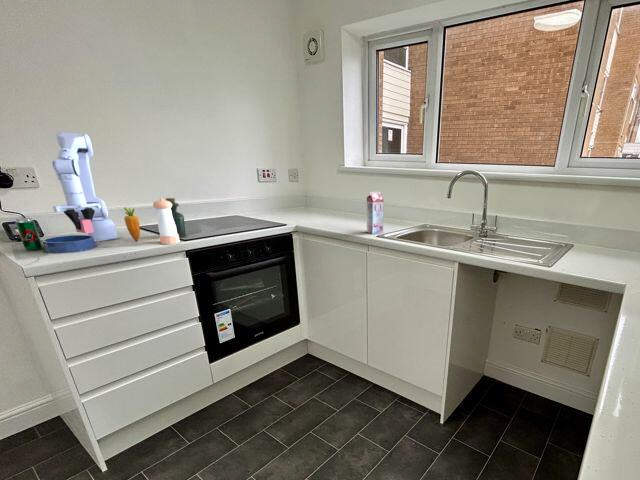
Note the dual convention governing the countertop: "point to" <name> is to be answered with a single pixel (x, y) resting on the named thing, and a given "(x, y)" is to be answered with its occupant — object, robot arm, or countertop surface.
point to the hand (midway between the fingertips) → (84, 228)
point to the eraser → (85, 226)
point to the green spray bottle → (177, 218)
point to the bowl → (69, 243)
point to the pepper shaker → (166, 222)
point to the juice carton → (375, 213)
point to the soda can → (29, 234)
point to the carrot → (132, 224)
